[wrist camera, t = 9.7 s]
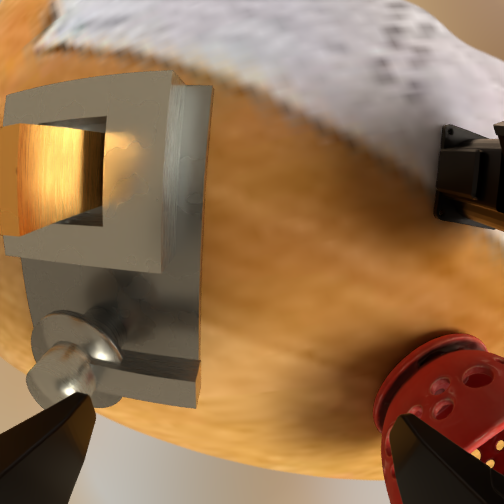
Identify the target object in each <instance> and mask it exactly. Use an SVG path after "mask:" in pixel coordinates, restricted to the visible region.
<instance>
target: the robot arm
mask: <svg viewBox="0 0 504 504" xmlns="http://www.w3.org/2000/svg"><path fill="white" fill-rule="evenodd" d="M493 126H494V130H495V133H496V135H498V138H499V139H488V138H486V137H483V136H481V135H478V134H476V133H473V132H470V131H468V130H465V129H462V128H459V127H457V126H454V125H450V124H448V125H444V126H443V128H442V138H441V151H440V154H439V165H438V175H437V184H436V188H437V191H436V198H435V205H434V216H435V217H436V218H437V219H440V220H444V221H449V222H455V223H461V224H466V225H472V226H477V227H482V228H488V229H493V230H495V229H498V230H500V231H503V232H504V121H502V122H499V123H496V124H494V125H493ZM448 129H449V130H450V135H449V133H448ZM441 209H442V214H441V215H440V214H439V212H440V210H441ZM95 421H96V413H95V410H94V407H93V403H92V400H91V397H90V396H89V395H88V394H85V393H81V392H75V393H73V394H71V395H70V396H68V397H66V398H65V399H63V400H61V401H59V402H57V403H56V404H54V405H52V406H50V407H49V408H47V409H45V410H43V411H41V412H40V413H38V414H36V415H34V416H33V417H31V418H29V419H27V420H25V421H24V422H22V423H20V424H18V425H16V426H14V427H13V428H11V429H9V430H7V431H5V432H3V433H2V434H0V504H68V502H69V499H70V496H71V494H72V491H73V488H74V486H75V483H76V481H77V478H78V475H79V473H80V470H81V468H82V465H83V463H84V460H85V456H86V453H87V449H88V445H89V442H90V438H91V435H92V431H93V428H94V424H95ZM389 441H390V447H391V452H392V458H393V464H394V471H395V476H396V481H397V485H398V488H399V492H400V495H401V499H402V503H403V504H504V475H502V474H500V473H499V472H497V471H496V470H494V469H493V468H490V467H489V466H488V465H486V464H485V463H483V462H482V461H480V460H479V459H477V458H476V457H474V456H473V455H472V454H470V453H469V452H467V451H466V450H464V449H463V448H461V447H460V446H458V445H457V444H455V443H454V442H452V441H451V440H450V439H448V438H447V437H445V436H444V435H442V434H441V433H440V432H438V431H437V430H435V429H434V428H432V427H431V426H430V425H428V424H427V423H425V422H424V421H422V420H421V419H420V418H418V417H417V416H415V415H414V414H412V413H406V414H400V415H399V416H398V417H397V419H396V421H395V423H394V425H393V427H392V429H391V431H390V434H389Z"/></svg>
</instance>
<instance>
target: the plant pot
mask: <svg viewBox="0 0 504 504" xmlns="http://www.w3.org/2000/svg"><path fill="white" fill-rule="evenodd" d="M406 413H412V414H414V415H415V416H417V417H418V418H420V419H421V420H422V421H424V422H425V423H427V424H428V425H430V426H431V427H432V428H434V429H435V430H437V431H438V432H440V433H441V434H442V435H444V436H445V437H447V438H448V439H450V440H451V441H452V442H454V443H455V444H457V445H458V446H460V447H461V448H463V449H464V450H466V451H467V452H469V453H472V452H473V451H474V450H476V449H478V450H479V451H480V453H481V458H480V461H482V462H483V463H485V464H486V462H487V461H489V460H494V462H495V464H494V466H493V469H494V470H496V471H497V472H499V473H500V474H502V475H504V447H503V449H502V450H497V449H496V445H497V443H498V441H500V440H503V441H504V358H503V357H501V356H498V355H496V354H493V353H489V352H488V350H487V348H486V346H485V345H484V344H483V342H482V341H480V340H479V339H478V338H476V337H474V336H472V335H469V334H459V333H458V334H450V335H445V336H442V337H438V338H436V339H433V340H431V341H429V342H427V343H425V344H423V345H421V346H420V347H418V348H417V349H415V350H414V351H412V352H411V353H410V354H409V355H407V356H406V357H405V358H404V359H403V360H402V361H401V362H400V363H399V364H397V366H396V367H395V368H394V369H393V370H392V371H391V372H390V374H389V375H388V376H387V377H386V379H385V381H384V382H383V384H382V385H381V387H380V389H379V391H378V393H377V396H376V398H375V402H374V407H373V418H374V422H375V425H376V427H377V429H378V430H379V432H380V433H381V434H382V440H381V457H382V467H383V474H384V479H385V483H386V488H387V492H388V496H389V499H390V503H391V504H403V503H402V499H401V495H400V492H399V488H398V485H397V481H396V476H395V471H394V464H393V458H392V452H391V447H390V441H389V434H390V431H391V429H392V427H393V425H394V423H395V421H396V419H397V417H398V416H399V415H400V414H406Z"/></svg>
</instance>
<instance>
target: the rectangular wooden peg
mask: <svg viewBox="0 0 504 504" xmlns="http://www.w3.org/2000/svg"><path fill="white" fill-rule="evenodd" d="M104 146H105V133H101V132H94V131H87V130H80V129H72V128H63V127H54V126H45V125H34V124H22V123H19V124H14V125H9V126H4V127H0V235H6V236H18V237H20V236H23V235H25V234H28V233H30V232H32V231H35V230H37V229H40V228H42V227H45V226H48V225H50V224H53V223H55V222H58V221H61V220H63V219H66V218H69V217H71V216H74V215H77V214H80V213H83V212H85V211H88V210H91V209H94V208H97V207H100V206H103V164H104Z"/></svg>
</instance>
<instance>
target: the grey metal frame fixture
mask: <svg viewBox="0 0 504 504" xmlns="http://www.w3.org/2000/svg"><path fill="white" fill-rule="evenodd" d="M213 94H214V88H213V86H202V85H185V84H184V82H183V81H182V80H181V79H180V78H179V77H178V76H177V75H176V74H175V72H174V71H173V70H169V71H149V72H135V73H123V74H114V75H105V76H97V77H90V78H84V79H77V80H71V81H66V82H60V83H55V84H50V85H46V86H41V87H37V88H32V89H28V90H24V91H20V92H17V93H13V94H9V95H7V96H6V103H5V111H4V120H3V127H4V126H9V125H14V124H19V123H22V124H34V125H45V126H54V127H63V128H72V129H80V130H87V131H94V132H101V133H105V146H104V164H103V206H100V207H97V208H94V209H91V210H88V211H85V212H83V213H80V214H77V215H74V216H71V217H69V218H66V219H63V220H61V221H58V222H55V223H53V224H50V225H48V226H45V227H42V228H40V229H37V230H35V231H32V232H30V233H28V234H25V235H23V236H20V237H18V236H6V235H3V238H4V247H5V255H7V256H15V257H21V261H22V269H23V276H24V282H25V288H26V293H27V299H28V304H29V309H30V313H31V318H32V322H33V327H34V329H33V332H32V336H31V347H32V352H33V355H34V358H35V361H36V364H35V365H34V367H33V368H32V369H31V370H30V371H29V372H28V374H27V376H26V383H27V386H28V389H29V391H30V393H31V394H32V396H33V397H34V399H35V400H36V402H37V403H38V404H39V405H40V406H41V407H42V408H44V409H47V408H49V407H50V406H52V405H54V404H56V403H57V402H59V401H61V400H63V399H65V398H66V397H68V396H70V395H71V394H73V393H75V392H81V393H85V394H88V395H89V396H90V397H91V400H92V403H93V407H94V408H105V407H109V406H112V405H114V404H116V403H117V402H118V401H120V399H121V398H122V397H127V398H132V399H137V400H142V401H148V402H154V403H159V404H166V405H172V406H179V407H186V408H194V409H196V407H197V402H198V398H199V393H200V388H201V360H200V321H201V277H202V249H203V227H204V208H205V191H206V176H207V162H208V149H209V137H210V125H211V114H212V104H213Z"/></svg>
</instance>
